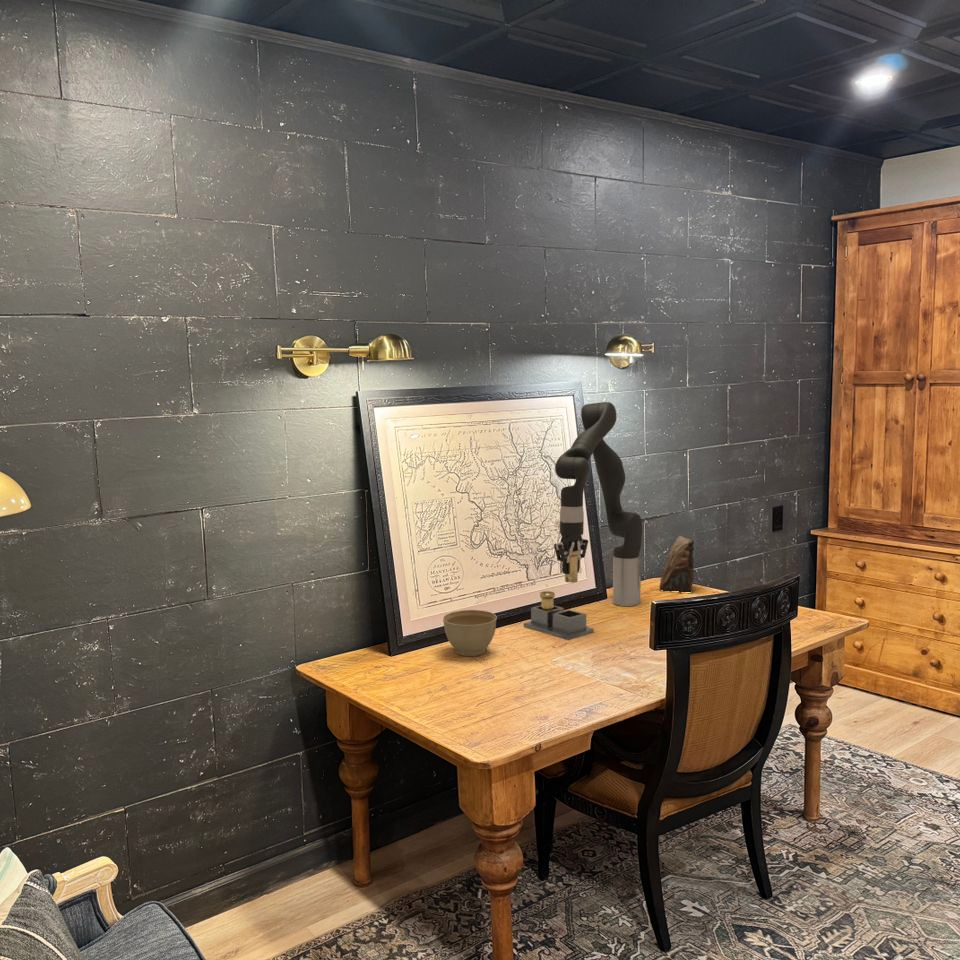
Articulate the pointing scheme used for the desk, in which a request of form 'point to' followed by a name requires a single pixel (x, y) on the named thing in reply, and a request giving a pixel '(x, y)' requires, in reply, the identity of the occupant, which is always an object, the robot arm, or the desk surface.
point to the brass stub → (572, 567)
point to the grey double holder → (557, 619)
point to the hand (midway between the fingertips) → (571, 572)
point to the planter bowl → (470, 631)
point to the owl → (679, 567)
